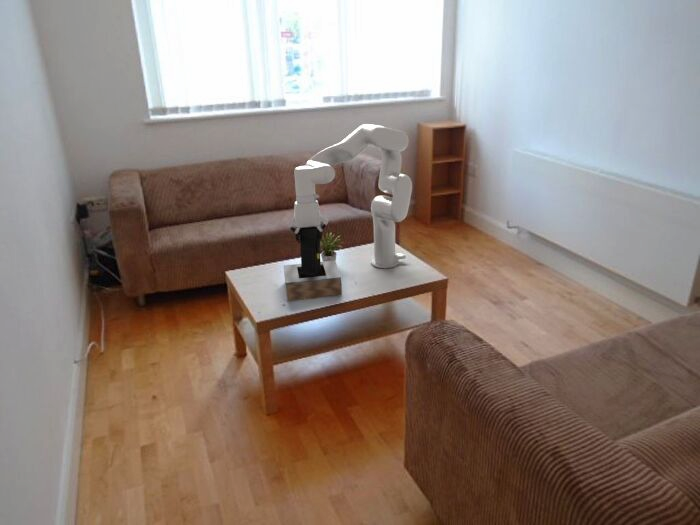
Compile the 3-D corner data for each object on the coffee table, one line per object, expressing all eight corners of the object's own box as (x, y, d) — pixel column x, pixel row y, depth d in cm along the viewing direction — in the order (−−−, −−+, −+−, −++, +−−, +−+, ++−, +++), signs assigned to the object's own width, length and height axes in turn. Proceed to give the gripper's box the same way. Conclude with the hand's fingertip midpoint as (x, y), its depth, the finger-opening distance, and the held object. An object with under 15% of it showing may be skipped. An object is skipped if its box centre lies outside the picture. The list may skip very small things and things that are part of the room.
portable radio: (324, 278, 215) (322, 220, 205) (316, 283, 210) (314, 225, 200) (308, 274, 218) (306, 218, 209) (300, 280, 214) (297, 222, 204)
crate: (336, 277, 225) (335, 260, 222) (342, 295, 209) (341, 277, 206) (285, 282, 222) (283, 265, 219) (287, 301, 206) (285, 282, 203)
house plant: (324, 276, 227) (322, 241, 221) (306, 267, 237) (303, 233, 231) (349, 267, 235) (348, 233, 229) (331, 259, 245) (329, 226, 239)
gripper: (327, 194, 205) (329, 236, 212) (283, 197, 203) (286, 240, 210) (329, 199, 199) (331, 242, 205) (283, 202, 196) (287, 246, 203)
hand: (309, 240), depth 207 cm, fingers closed on portable radio, 7 cm apart
